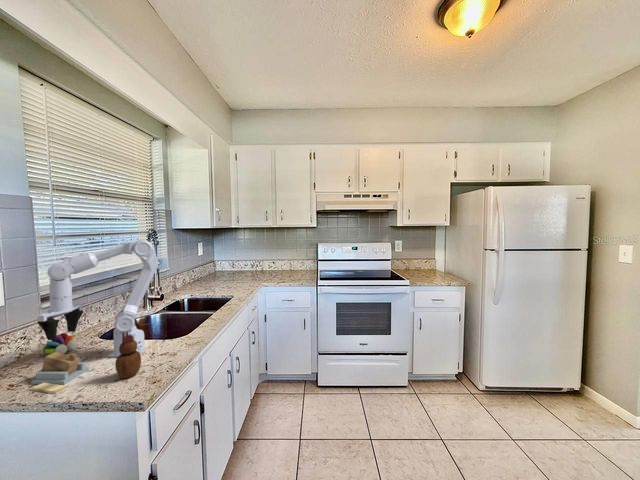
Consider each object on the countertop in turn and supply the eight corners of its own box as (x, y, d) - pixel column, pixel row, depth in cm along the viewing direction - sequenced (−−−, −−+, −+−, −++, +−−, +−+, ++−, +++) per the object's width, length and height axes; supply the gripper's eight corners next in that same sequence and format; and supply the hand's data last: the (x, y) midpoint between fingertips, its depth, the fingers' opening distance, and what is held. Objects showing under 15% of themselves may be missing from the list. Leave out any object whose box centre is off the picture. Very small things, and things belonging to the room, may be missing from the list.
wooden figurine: (121, 383, 87) (120, 335, 86) (112, 377, 90) (111, 331, 89) (144, 373, 92) (143, 328, 92) (135, 369, 95) (135, 325, 95)
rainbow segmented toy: (81, 348, 112) (81, 330, 112) (56, 359, 103) (56, 339, 103) (62, 347, 113) (62, 329, 113) (36, 357, 104) (35, 338, 103)
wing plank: (67, 390, 84) (67, 386, 84) (56, 395, 81) (55, 391, 81) (43, 386, 85) (43, 382, 85) (31, 391, 82) (31, 387, 82)
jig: (88, 369, 94) (88, 361, 94) (64, 384, 86) (64, 374, 85) (59, 369, 95) (59, 360, 94) (31, 384, 86) (31, 374, 85)
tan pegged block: (76, 371, 92) (80, 352, 91) (66, 376, 88) (71, 357, 88) (52, 364, 92) (57, 346, 91) (41, 370, 88) (46, 351, 88)
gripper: (68, 292, 104) (69, 328, 105) (27, 302, 90) (29, 343, 90) (87, 292, 104) (88, 328, 105) (49, 302, 90) (50, 343, 90)
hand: (62, 335), depth 98 cm, fingers open, 7 cm apart
